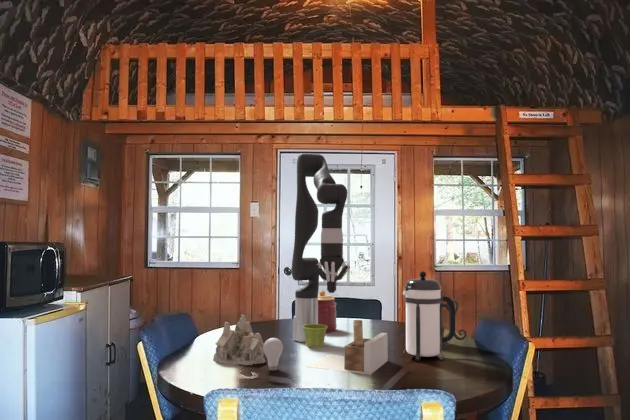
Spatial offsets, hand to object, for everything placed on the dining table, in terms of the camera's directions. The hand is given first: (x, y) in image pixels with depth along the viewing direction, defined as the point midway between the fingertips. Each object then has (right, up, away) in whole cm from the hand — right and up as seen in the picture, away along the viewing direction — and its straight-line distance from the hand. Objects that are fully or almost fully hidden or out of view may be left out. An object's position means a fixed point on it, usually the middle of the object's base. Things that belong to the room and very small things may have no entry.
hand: (331, 292), depth 176 cm
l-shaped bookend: (+5, -23, -11) cm, 26 cm away
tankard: (+42, -25, +26) cm, 55 cm away
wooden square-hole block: (+9, -21, -13) cm, 26 cm away
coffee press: (+33, -24, +5) cm, 41 cm away
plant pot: (-6, -24, +16) cm, 29 cm away
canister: (-2, -26, +55) cm, 61 cm away
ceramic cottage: (-31, -23, -1) cm, 39 cm away
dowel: (+8, -18, -16) cm, 26 cm away
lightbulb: (-19, -22, -18) cm, 34 cm away
